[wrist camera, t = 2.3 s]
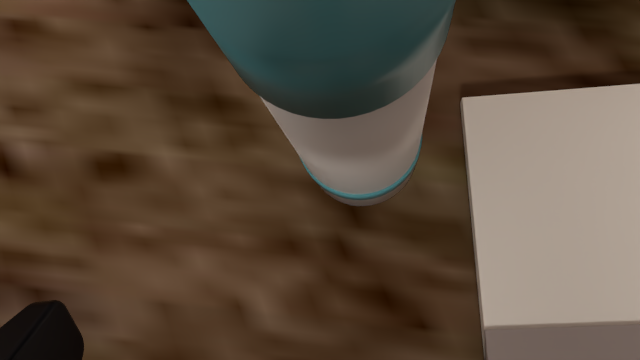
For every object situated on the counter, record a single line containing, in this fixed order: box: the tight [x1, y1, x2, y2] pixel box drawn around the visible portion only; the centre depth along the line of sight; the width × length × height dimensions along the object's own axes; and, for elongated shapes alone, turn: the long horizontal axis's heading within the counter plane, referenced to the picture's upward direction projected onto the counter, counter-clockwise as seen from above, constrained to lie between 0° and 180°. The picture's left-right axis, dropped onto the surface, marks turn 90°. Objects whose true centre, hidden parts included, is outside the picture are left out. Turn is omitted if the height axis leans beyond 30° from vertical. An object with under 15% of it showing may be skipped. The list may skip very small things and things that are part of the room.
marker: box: [187, 0, 456, 206], centre depth 14 cm, size 4×4×13 cm
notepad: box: [460, 84, 640, 360], centre depth 18 cm, size 9×9×1 cm
